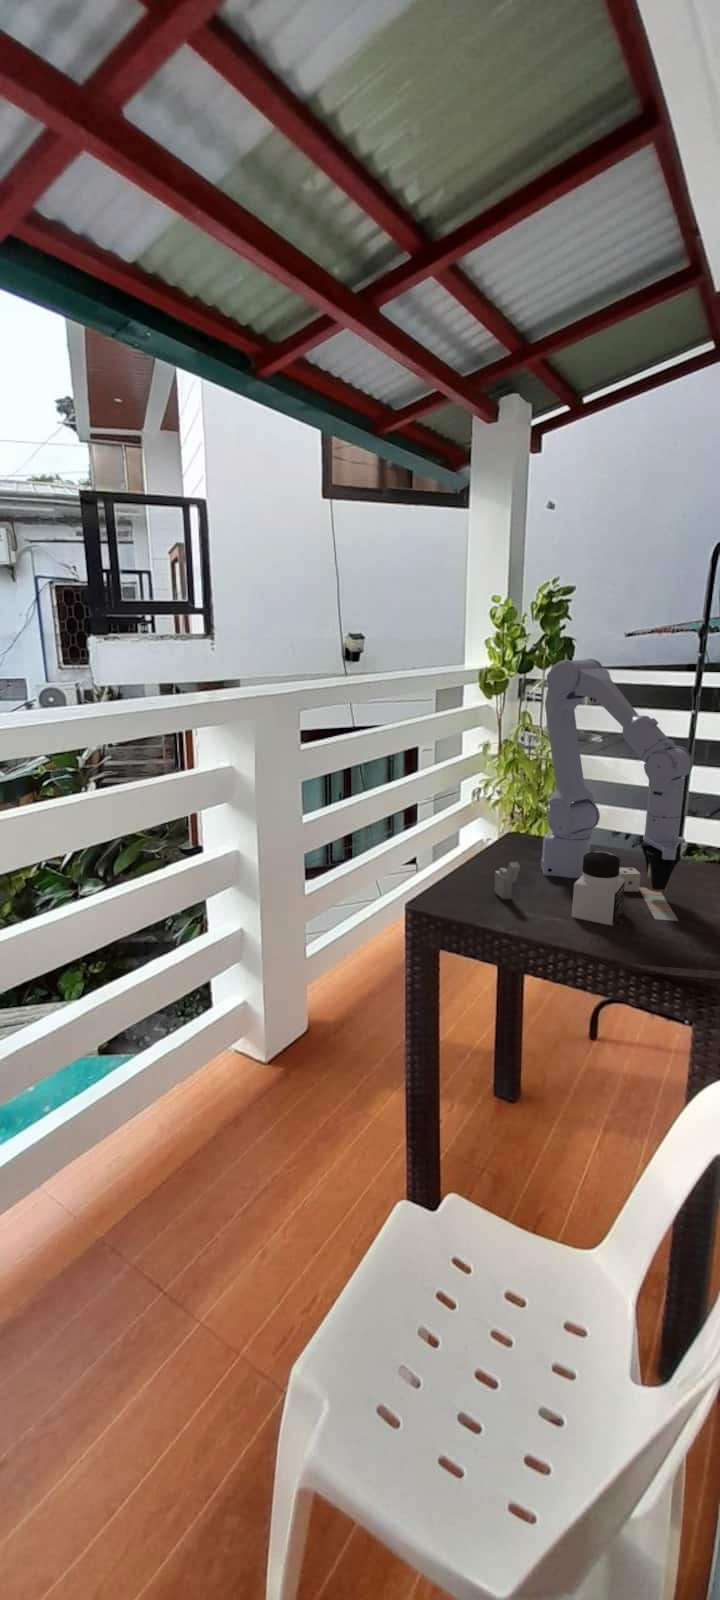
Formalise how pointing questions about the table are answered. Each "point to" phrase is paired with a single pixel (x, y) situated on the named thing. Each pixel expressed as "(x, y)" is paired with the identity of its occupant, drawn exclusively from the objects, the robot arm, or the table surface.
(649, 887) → the pawn
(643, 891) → the board
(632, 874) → the die
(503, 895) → the grey notched upright piece
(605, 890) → the medicine bottle
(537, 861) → the table surface
